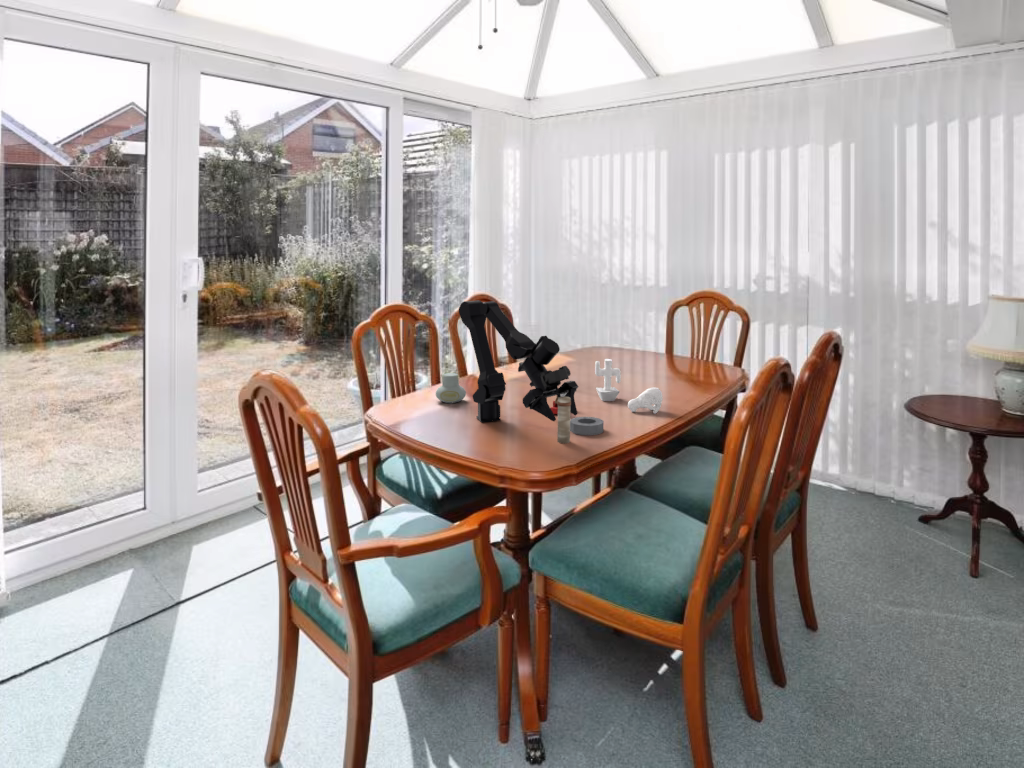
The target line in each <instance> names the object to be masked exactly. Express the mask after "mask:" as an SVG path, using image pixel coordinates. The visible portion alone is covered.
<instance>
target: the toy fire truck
mask: <svg viewBox="0 0 1024 768" xmlns="http://www.w3.org/2000/svg"><path fill="white" fill-rule="evenodd" d="M557 401H558V396H557V395H556V397H555V400H552V406H550V408H551V410H552V412H553V414H554V415H558V405H557Z"/></svg>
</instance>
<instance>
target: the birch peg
mask: <svg viewBox="0 0 1024 768" xmlns="http://www.w3.org/2000/svg"><path fill="white" fill-rule="evenodd" d="M557 405H558V414H557V443H559V444H569V443H571V431H570V420H571V412H570V406H571V398H570V397H558V401H557Z"/></svg>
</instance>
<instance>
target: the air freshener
mask: <svg viewBox="0 0 1024 768" xmlns="http://www.w3.org/2000/svg"><path fill="white" fill-rule="evenodd" d="M441 377H442V379H441V381H442V383H441V384H442V385H441V386H439V387H437V389H436V390H435V396H436V399H437V400H439V401H440V402H443V403H446V404H456V403H458V402H460V401H462V400H463V399H465V397H466V394H467V391H466V389H465V388H464V387H463V386H461V385H460V383H459V382H460V381H459V379H460V378H459V377H460V376H459V374H458V373H456V372H455V373H454V372H447V373H443V374H442V376H441Z"/></svg>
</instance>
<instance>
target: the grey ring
mask: <svg viewBox="0 0 1024 768" xmlns="http://www.w3.org/2000/svg"><path fill="white" fill-rule="evenodd" d="M570 433H573V434H575V435H579V436H597V435H601V434H603V433H604V420H603V419H601V418H599V417H595V416H576V417H573V418H570Z"/></svg>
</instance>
